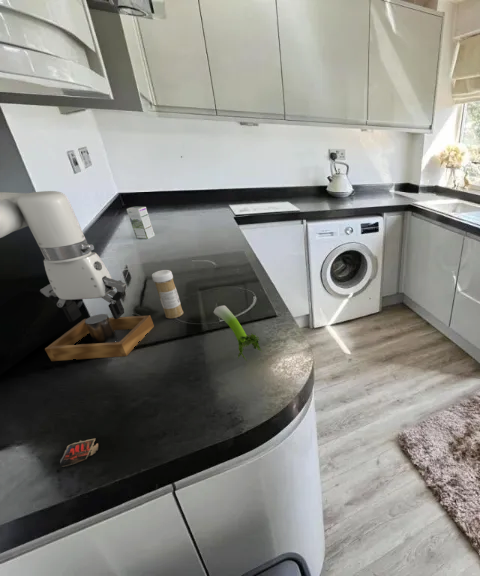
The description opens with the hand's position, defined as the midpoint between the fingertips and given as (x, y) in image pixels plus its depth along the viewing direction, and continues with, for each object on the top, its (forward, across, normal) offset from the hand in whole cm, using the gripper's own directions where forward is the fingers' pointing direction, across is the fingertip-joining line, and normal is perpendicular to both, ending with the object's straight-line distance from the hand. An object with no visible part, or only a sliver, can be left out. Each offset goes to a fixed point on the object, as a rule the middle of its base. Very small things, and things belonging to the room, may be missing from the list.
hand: (97, 317), depth 78 cm
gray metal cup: (+7, 0, 0) cm, 7 cm away
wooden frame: (+7, 0, 0) cm, 7 cm away
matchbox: (+7, -14, +33) cm, 37 cm away
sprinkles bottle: (+8, -10, -12) cm, 18 cm away
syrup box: (+7, +36, -91) cm, 98 cm away
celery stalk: (+8, -31, +1) cm, 32 cm away
